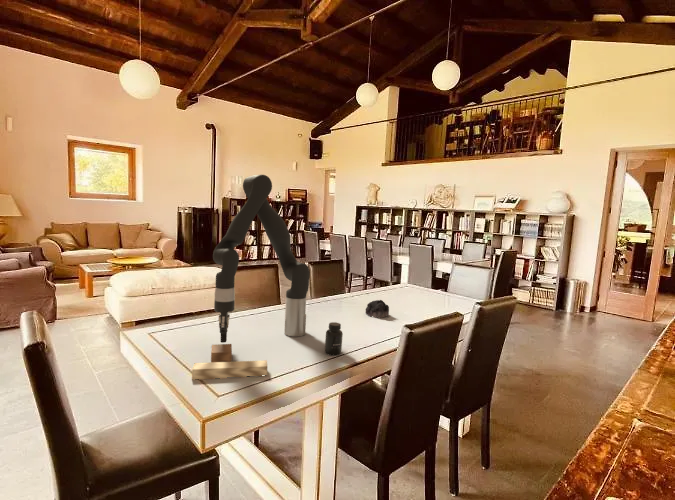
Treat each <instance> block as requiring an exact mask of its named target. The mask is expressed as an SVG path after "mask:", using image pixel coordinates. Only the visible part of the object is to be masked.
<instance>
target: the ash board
mask: <svg viewBox="0 0 675 500" xmlns="http://www.w3.org/2000/svg"><path fill="white" fill-rule="evenodd" d="M262 375H267V376H268V360H267V359H266V360H241V361H240V360H239V361H232V362H211V361H210V362H195V363H194V364H193V366H192V369H191V380H192V381H196V380H195V379H199V380H214V379H215V378H220V379H228V378H227V377H241V378H247V377H246V376H262ZM262 377H263V376H262ZM215 380H216V379H215Z"/></svg>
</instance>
